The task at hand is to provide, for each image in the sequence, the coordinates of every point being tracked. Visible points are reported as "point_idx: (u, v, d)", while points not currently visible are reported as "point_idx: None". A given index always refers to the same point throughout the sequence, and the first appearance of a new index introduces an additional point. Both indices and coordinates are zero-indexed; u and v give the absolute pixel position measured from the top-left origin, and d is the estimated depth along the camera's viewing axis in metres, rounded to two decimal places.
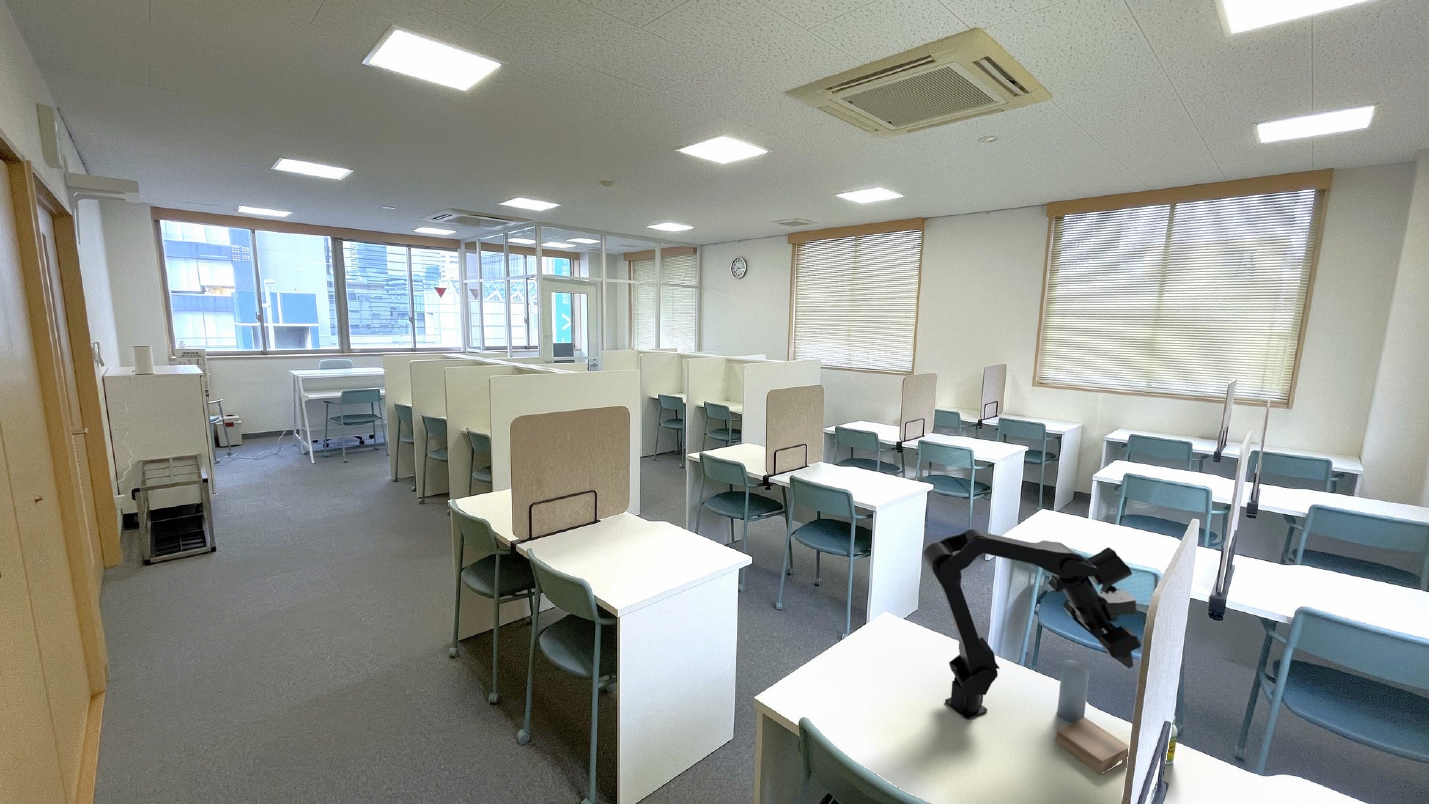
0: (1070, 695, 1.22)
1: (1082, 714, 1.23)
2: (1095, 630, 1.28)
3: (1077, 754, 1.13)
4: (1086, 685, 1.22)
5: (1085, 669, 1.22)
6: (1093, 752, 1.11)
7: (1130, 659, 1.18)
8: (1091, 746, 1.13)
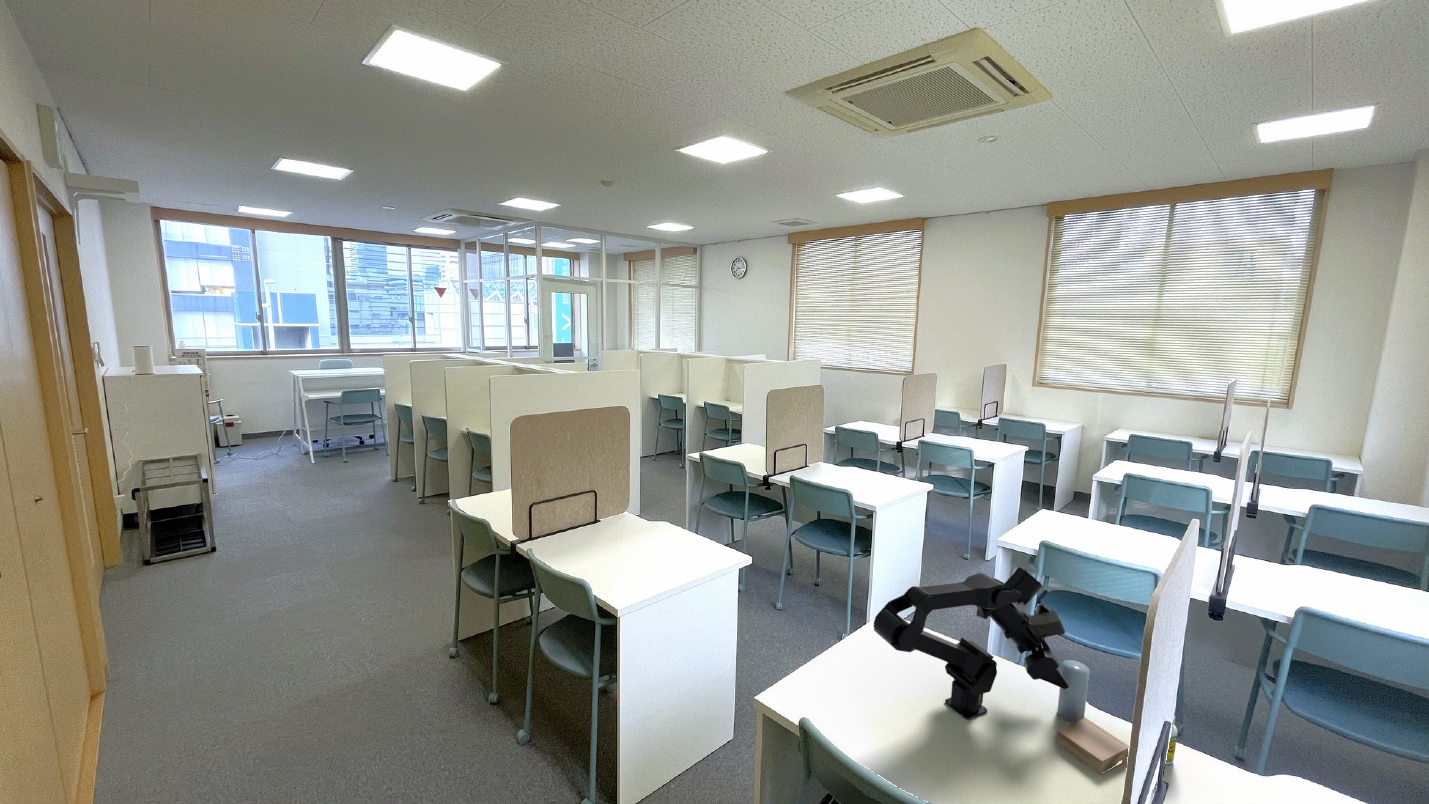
0: (1070, 695, 1.22)
1: (1082, 714, 1.23)
2: None
3: (1077, 754, 1.13)
4: (1086, 685, 1.22)
5: (1085, 669, 1.22)
6: (1093, 752, 1.11)
7: (1061, 680, 1.20)
8: (1091, 746, 1.13)
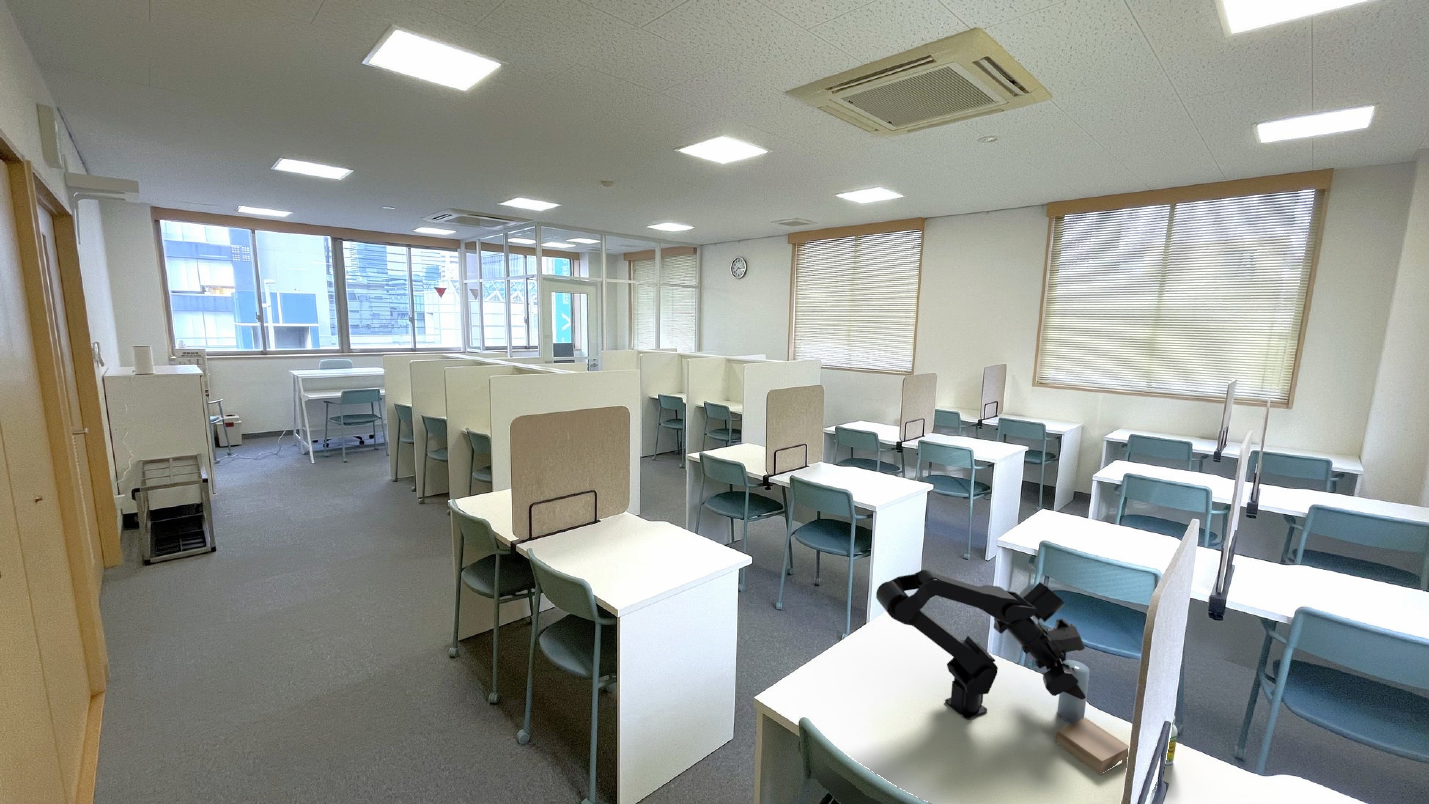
0: (1070, 695, 1.22)
1: (1082, 714, 1.23)
2: None
3: (1077, 754, 1.13)
4: (1086, 685, 1.22)
5: (1085, 669, 1.22)
6: (1093, 752, 1.11)
7: (1079, 690, 1.20)
8: (1091, 746, 1.13)
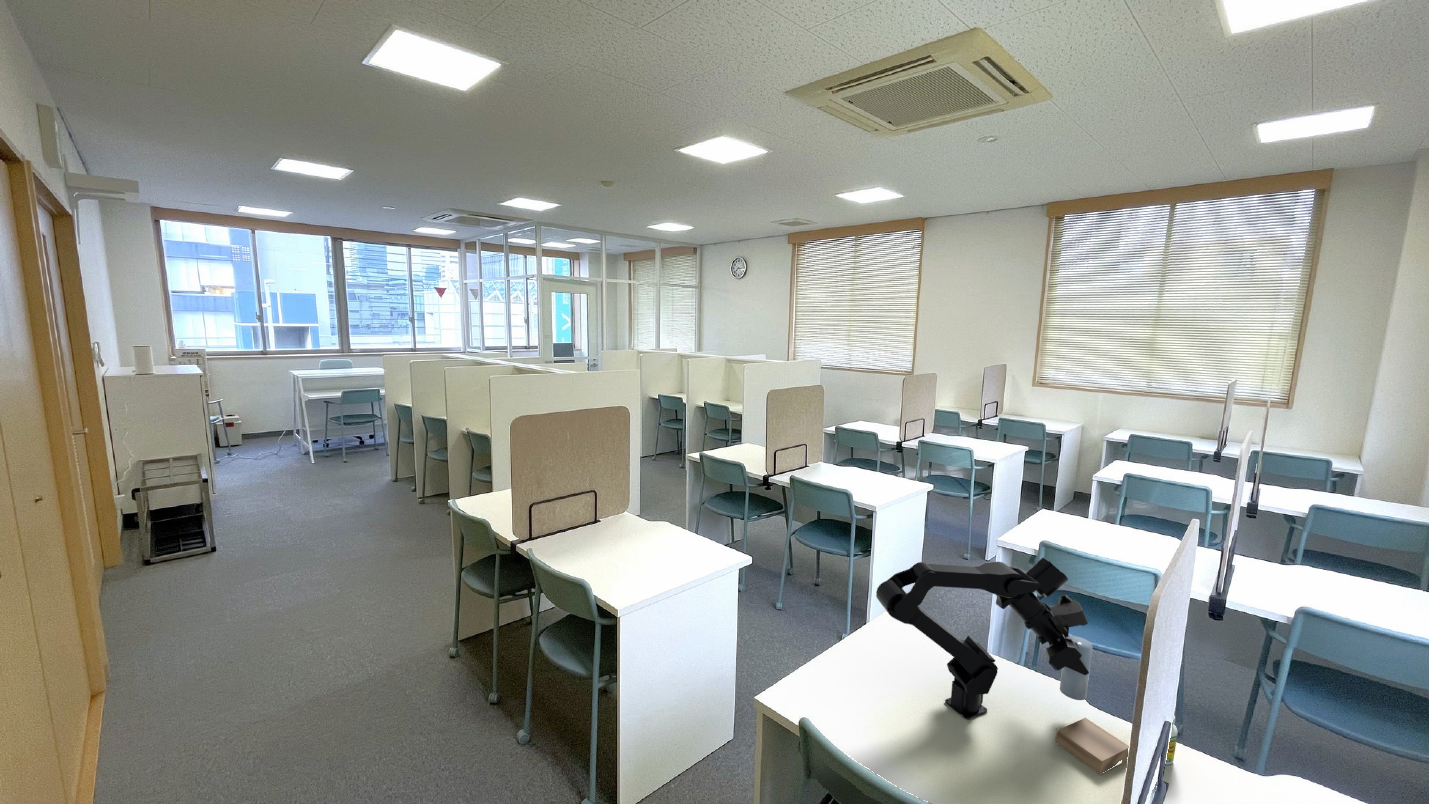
0: (1073, 671, 1.21)
1: (1085, 690, 1.22)
2: None
3: (1077, 754, 1.13)
4: (1089, 660, 1.21)
5: (1088, 644, 1.21)
6: (1093, 752, 1.11)
7: (1082, 666, 1.19)
8: (1091, 746, 1.13)
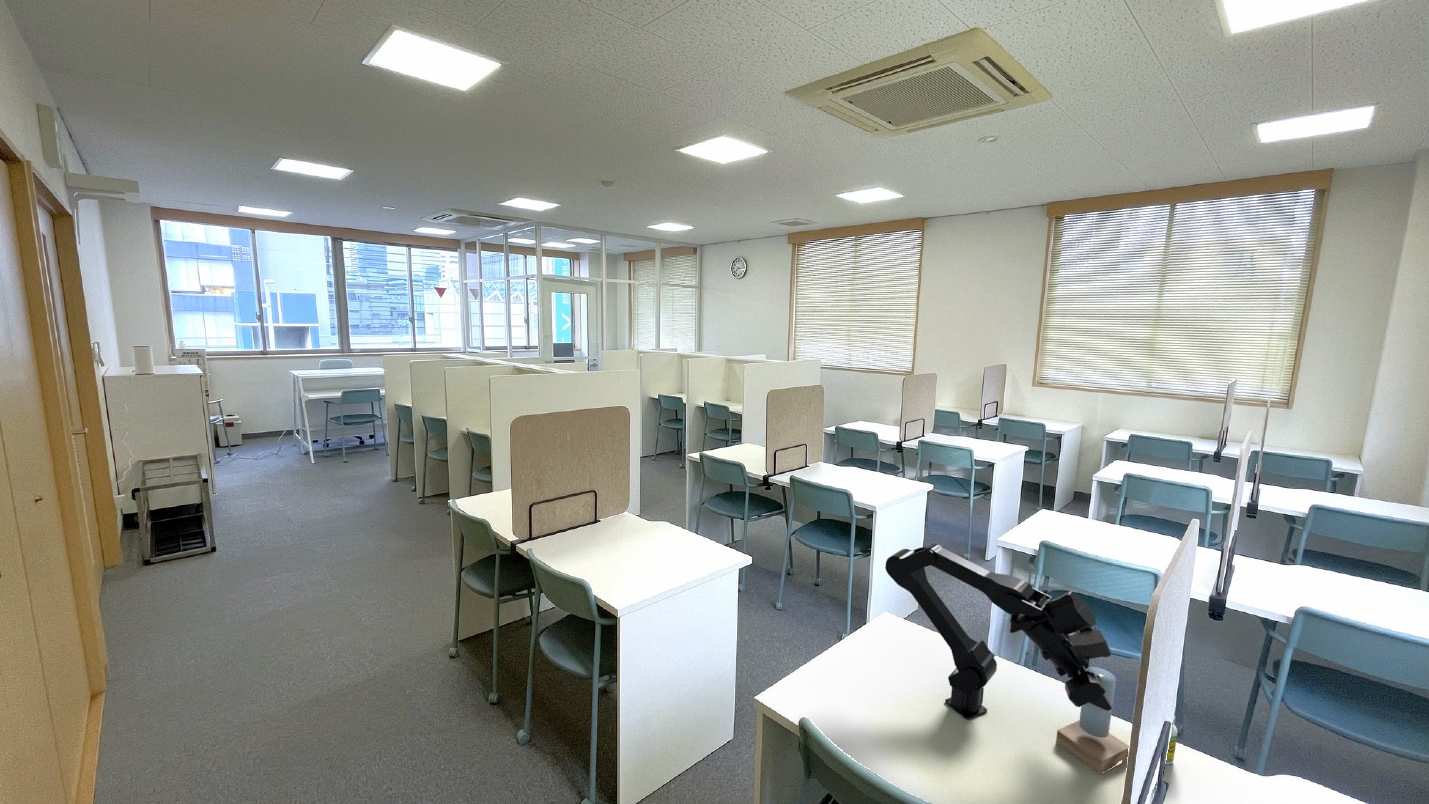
0: (1094, 706, 1.12)
1: (1107, 726, 1.12)
2: None
3: (1077, 754, 1.13)
4: (1112, 695, 1.11)
5: (1111, 677, 1.12)
6: (1093, 752, 1.11)
7: (1104, 701, 1.10)
8: (1091, 746, 1.13)
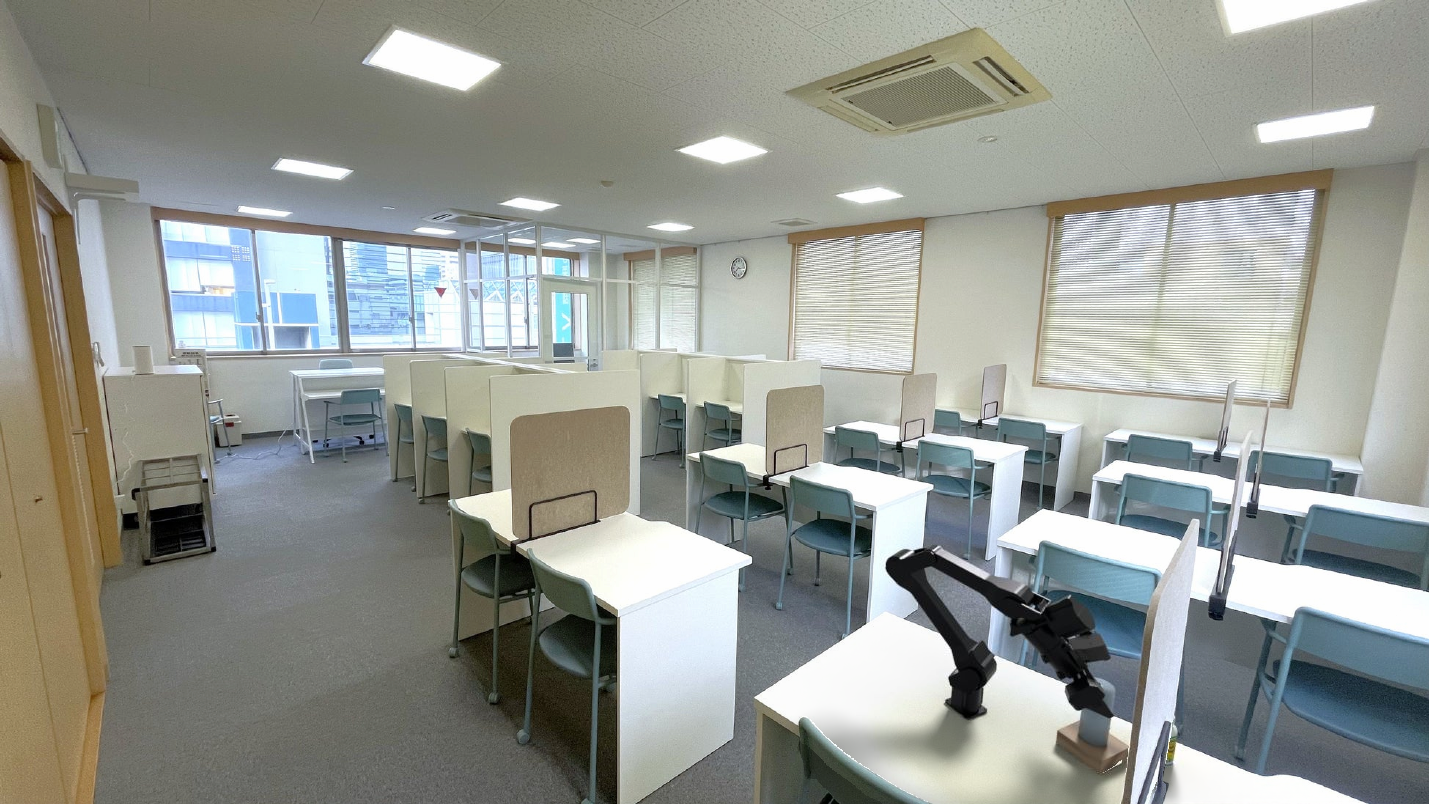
0: (1094, 716, 1.12)
1: (1106, 736, 1.12)
2: None
3: (1077, 754, 1.13)
4: (1111, 706, 1.11)
5: (1110, 688, 1.11)
6: (1093, 752, 1.11)
7: (1106, 708, 1.09)
8: (1091, 746, 1.13)
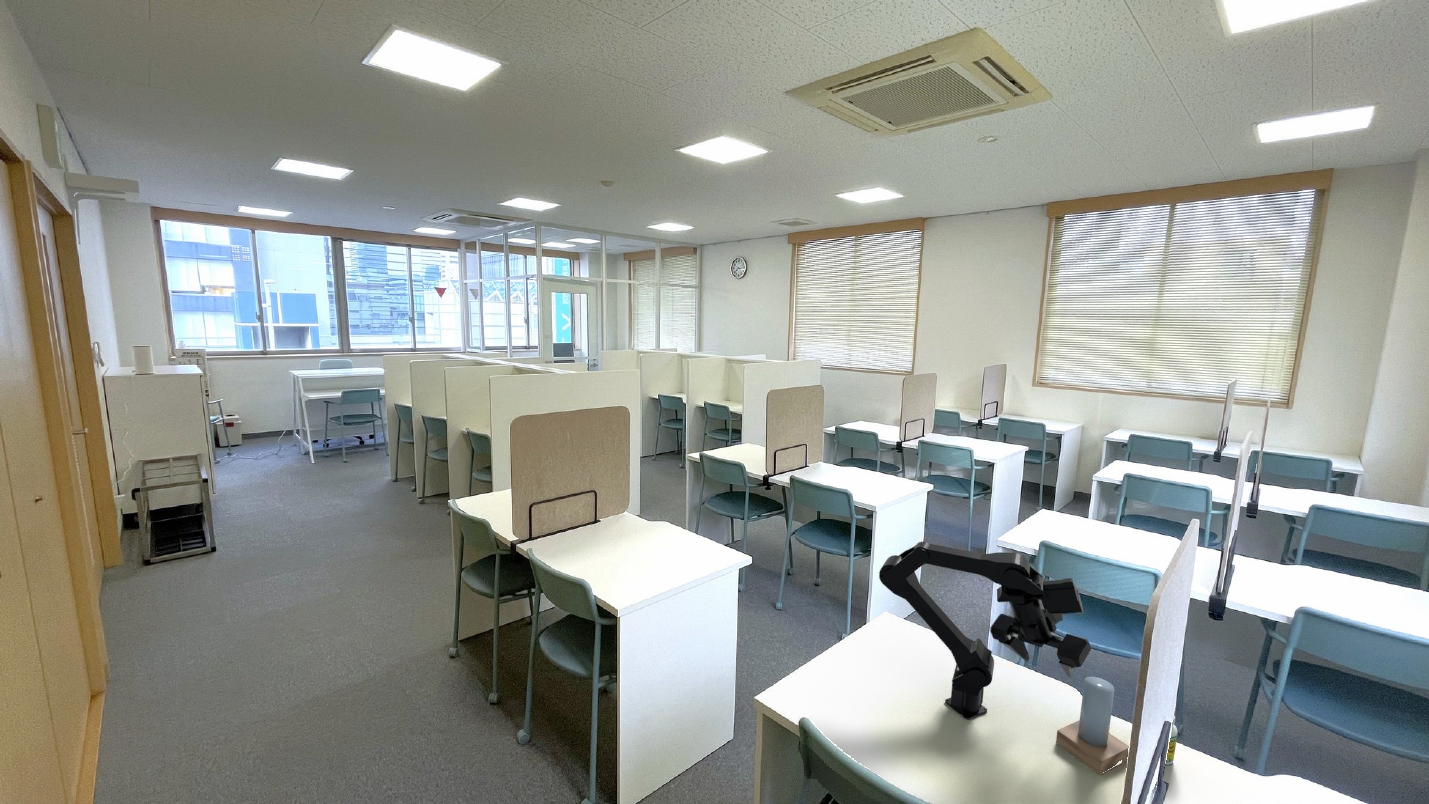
0: (1093, 715, 1.12)
1: (1106, 736, 1.12)
2: (1021, 649, 1.26)
3: (1077, 754, 1.13)
4: (1111, 705, 1.11)
5: (1110, 687, 1.12)
6: (1093, 752, 1.11)
7: None
8: (1091, 746, 1.13)
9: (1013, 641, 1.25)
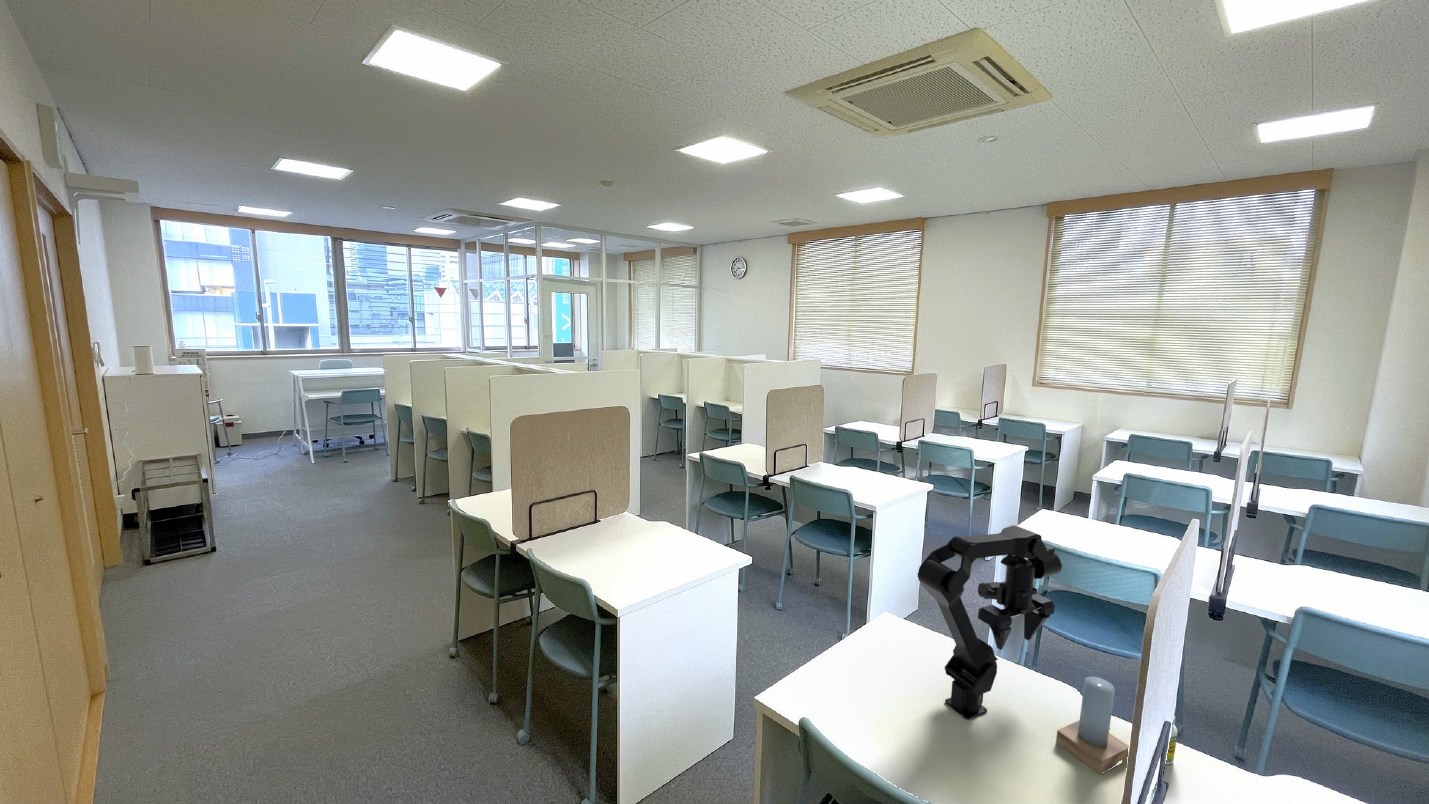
0: (1093, 715, 1.12)
1: (1106, 736, 1.12)
2: None
3: (1077, 754, 1.13)
4: (1111, 705, 1.11)
5: (1110, 687, 1.12)
6: (1093, 752, 1.11)
7: None
8: (1091, 746, 1.13)
9: None
